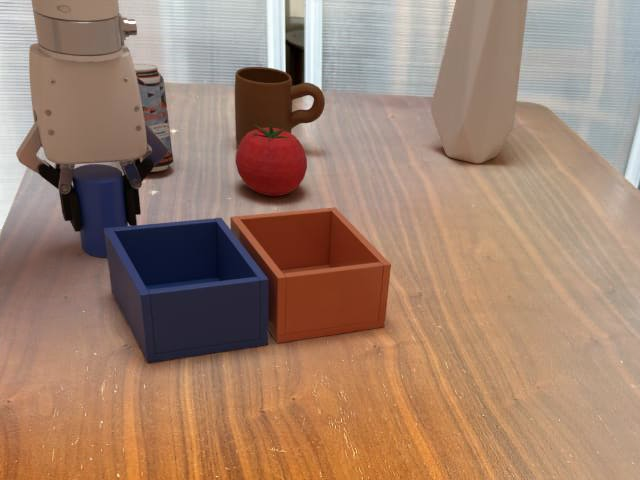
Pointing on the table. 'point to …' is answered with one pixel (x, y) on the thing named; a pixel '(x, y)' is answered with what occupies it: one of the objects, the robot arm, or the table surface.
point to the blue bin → (187, 288)
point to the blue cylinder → (99, 204)
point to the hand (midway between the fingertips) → (103, 222)
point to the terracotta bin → (316, 272)
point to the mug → (271, 101)
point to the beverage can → (155, 108)
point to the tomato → (271, 161)
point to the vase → (479, 78)
